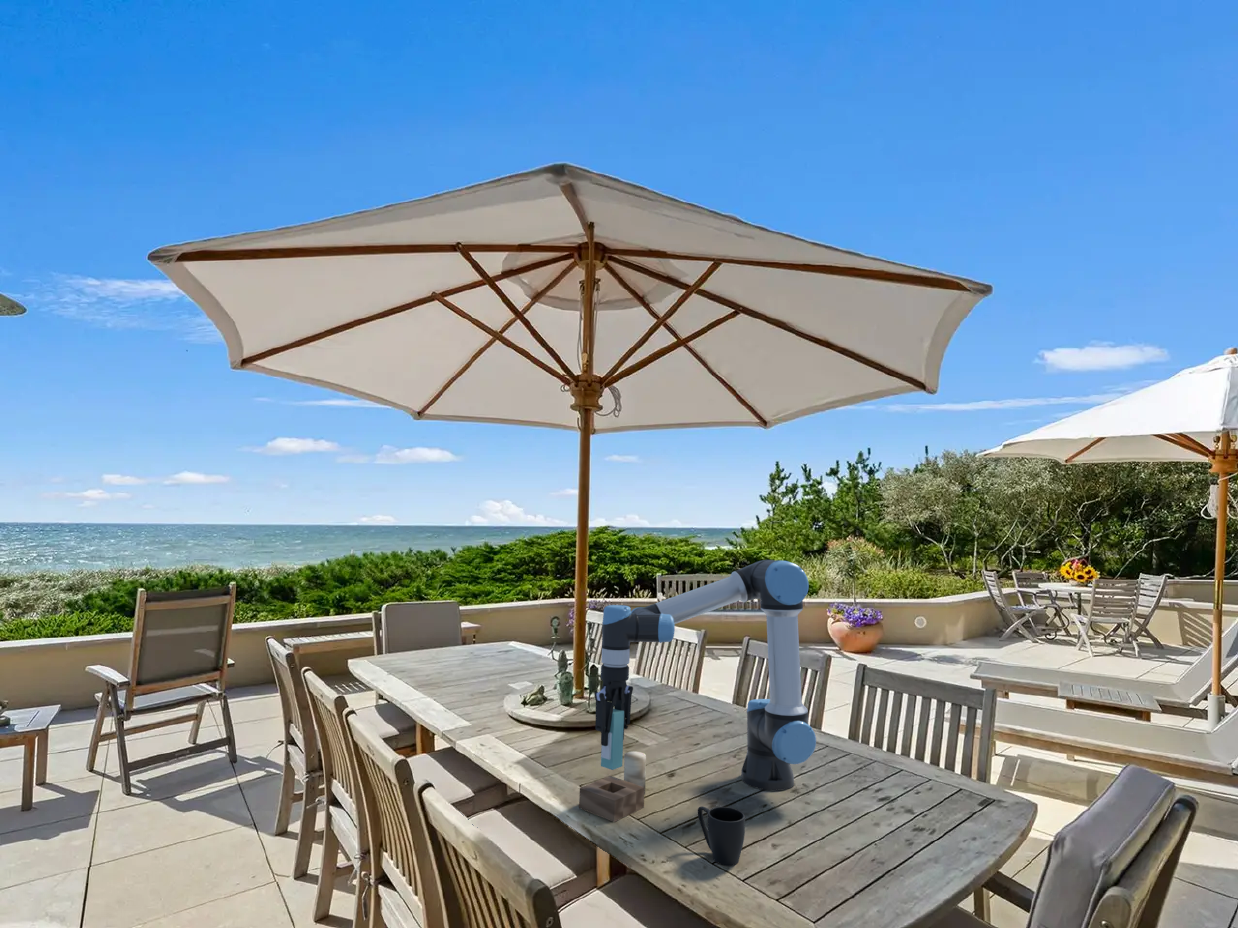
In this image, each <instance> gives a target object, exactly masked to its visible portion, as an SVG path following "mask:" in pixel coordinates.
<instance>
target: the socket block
mask: <svg viewBox="0 0 1238 928" xmlns="http://www.w3.org/2000/svg"><path fill="white" fill-rule="evenodd" d="M578 797H579V801H578V802H579V804H578V805H579V806H578V808H579V810H583V811H586V812H588V813H591V814H593V815H596V816H599V817H601V818H603V819H606V820H608V821H610V822H614V823H616V822H617V821H619V820H621V819H623V818H625V817H627V816H629V815H632V814H633V813H636V812H637V811H640V810H642V809H643V808H645V795H644V787H642V786H639V785H636V784H633V783H630V782H627V781H624V779H620V778H617V777H615V776H612V775H608V776H606V777H604V778H600V779H598V780H596V781H594V782H591V783H589V784H586V785H584V786H581V787H579V796H578Z"/></svg>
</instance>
